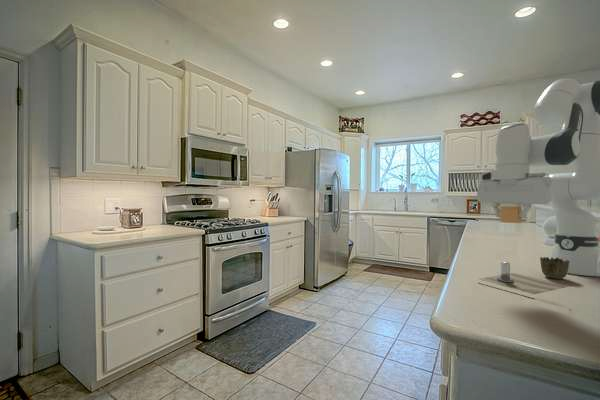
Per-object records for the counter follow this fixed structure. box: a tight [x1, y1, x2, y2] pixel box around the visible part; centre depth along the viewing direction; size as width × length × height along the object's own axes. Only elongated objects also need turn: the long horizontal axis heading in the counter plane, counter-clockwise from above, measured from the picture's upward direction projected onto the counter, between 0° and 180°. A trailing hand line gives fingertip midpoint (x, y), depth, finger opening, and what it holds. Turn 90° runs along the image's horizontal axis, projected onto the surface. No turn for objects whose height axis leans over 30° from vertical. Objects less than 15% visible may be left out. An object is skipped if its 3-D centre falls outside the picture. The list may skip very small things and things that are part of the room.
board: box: [477, 272, 571, 300], centre depth 91 cm, size 20×16×2 cm
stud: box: [497, 261, 514, 283], centre depth 92 cm, size 4×4×6 cm
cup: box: [539, 256, 569, 280], centre depth 97 cm, size 8×7×8 cm
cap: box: [498, 205, 523, 224], centre depth 92 cm, size 5×5×5 cm
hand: (510, 217), depth 92 cm, fingers closed on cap, 5 cm apart
